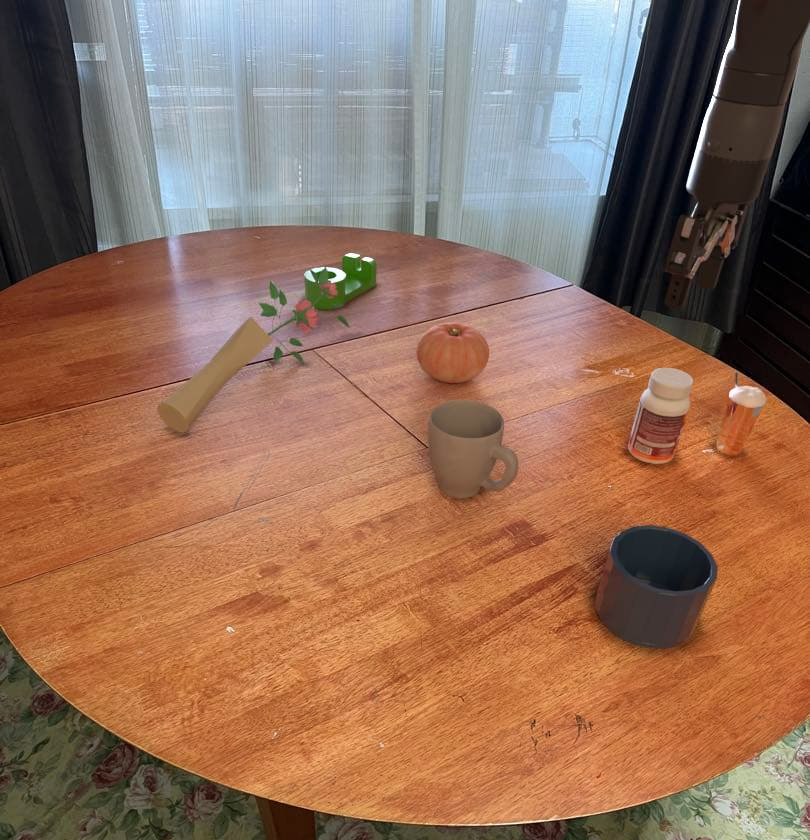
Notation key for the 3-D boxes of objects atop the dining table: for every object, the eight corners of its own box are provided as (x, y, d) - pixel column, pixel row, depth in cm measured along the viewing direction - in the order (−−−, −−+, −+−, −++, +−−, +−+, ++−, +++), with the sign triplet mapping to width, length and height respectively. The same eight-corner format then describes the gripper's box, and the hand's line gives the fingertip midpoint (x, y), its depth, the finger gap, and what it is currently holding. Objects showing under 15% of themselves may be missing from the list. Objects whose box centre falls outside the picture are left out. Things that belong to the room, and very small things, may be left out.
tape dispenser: (330, 312, 131) (330, 286, 128) (297, 302, 134) (296, 276, 131) (377, 285, 141) (378, 260, 138) (345, 276, 144) (345, 251, 141)
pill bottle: (680, 464, 100) (706, 388, 93) (636, 466, 99) (659, 390, 92) (662, 439, 105) (686, 364, 98) (620, 440, 104) (640, 365, 97)
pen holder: (679, 579, 83) (699, 526, 78) (707, 651, 75) (732, 597, 71) (586, 576, 83) (601, 523, 78) (605, 647, 75) (623, 593, 70)
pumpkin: (474, 357, 121) (480, 309, 116) (495, 391, 113) (502, 341, 108) (408, 361, 119) (411, 312, 114) (424, 396, 111) (427, 345, 106)
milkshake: (725, 434, 107) (750, 369, 100) (752, 454, 103) (779, 389, 96) (699, 440, 105) (722, 375, 99) (725, 461, 101) (751, 395, 95)
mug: (409, 485, 94) (413, 418, 88) (453, 456, 99) (460, 391, 93) (487, 528, 88) (498, 460, 82) (529, 495, 94) (542, 428, 87)
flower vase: (176, 464, 108) (306, 324, 126) (236, 471, 101) (365, 322, 120) (129, 396, 100) (276, 259, 119) (191, 399, 94) (336, 252, 112)
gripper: (741, 167, 74) (693, 325, 84) (794, 144, 82) (743, 290, 93) (670, 151, 77) (632, 304, 88) (727, 130, 86) (686, 272, 96)
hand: (689, 297), depth 90 cm, fingers open, 8 cm apart
